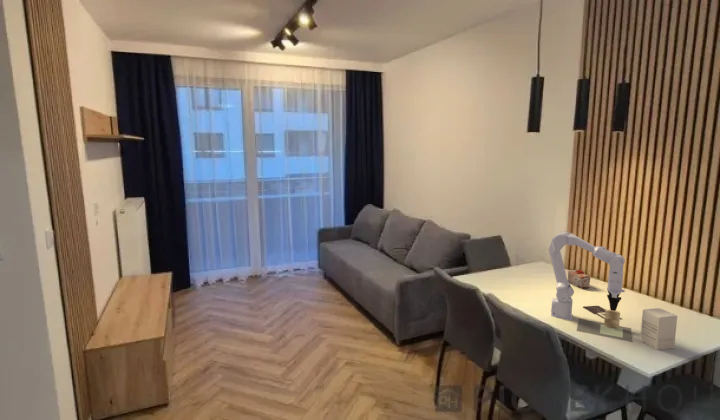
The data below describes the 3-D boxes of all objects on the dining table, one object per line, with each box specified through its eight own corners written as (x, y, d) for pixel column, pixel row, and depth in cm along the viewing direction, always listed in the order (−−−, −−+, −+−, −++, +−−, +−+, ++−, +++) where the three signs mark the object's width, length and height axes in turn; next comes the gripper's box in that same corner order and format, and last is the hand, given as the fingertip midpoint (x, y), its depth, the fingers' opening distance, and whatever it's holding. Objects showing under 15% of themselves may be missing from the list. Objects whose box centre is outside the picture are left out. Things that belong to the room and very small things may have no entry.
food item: (591, 288, 246) (593, 273, 245) (580, 289, 245) (581, 274, 243) (575, 281, 260) (576, 266, 258) (565, 282, 258) (566, 267, 256)
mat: (576, 331, 189) (576, 330, 189) (578, 319, 203) (578, 318, 203) (632, 343, 178) (632, 341, 178) (631, 329, 191) (631, 328, 191)
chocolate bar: (598, 305, 219) (623, 319, 201) (598, 307, 219) (622, 321, 201) (582, 306, 218) (606, 320, 200) (582, 308, 218) (606, 322, 200)
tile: (604, 326, 194) (605, 310, 192) (604, 324, 195) (605, 309, 194) (618, 329, 190) (620, 313, 189) (618, 327, 192) (620, 311, 191)
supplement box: (656, 338, 181) (659, 307, 179) (674, 348, 173) (678, 315, 170) (639, 340, 180) (642, 308, 178) (656, 350, 171) (659, 317, 169)
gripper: (625, 286, 181) (623, 314, 183) (625, 277, 193) (622, 303, 195) (607, 283, 185) (605, 311, 187) (607, 274, 197) (605, 301, 199)
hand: (613, 307), depth 191 cm, fingers open, 7 cm apart
